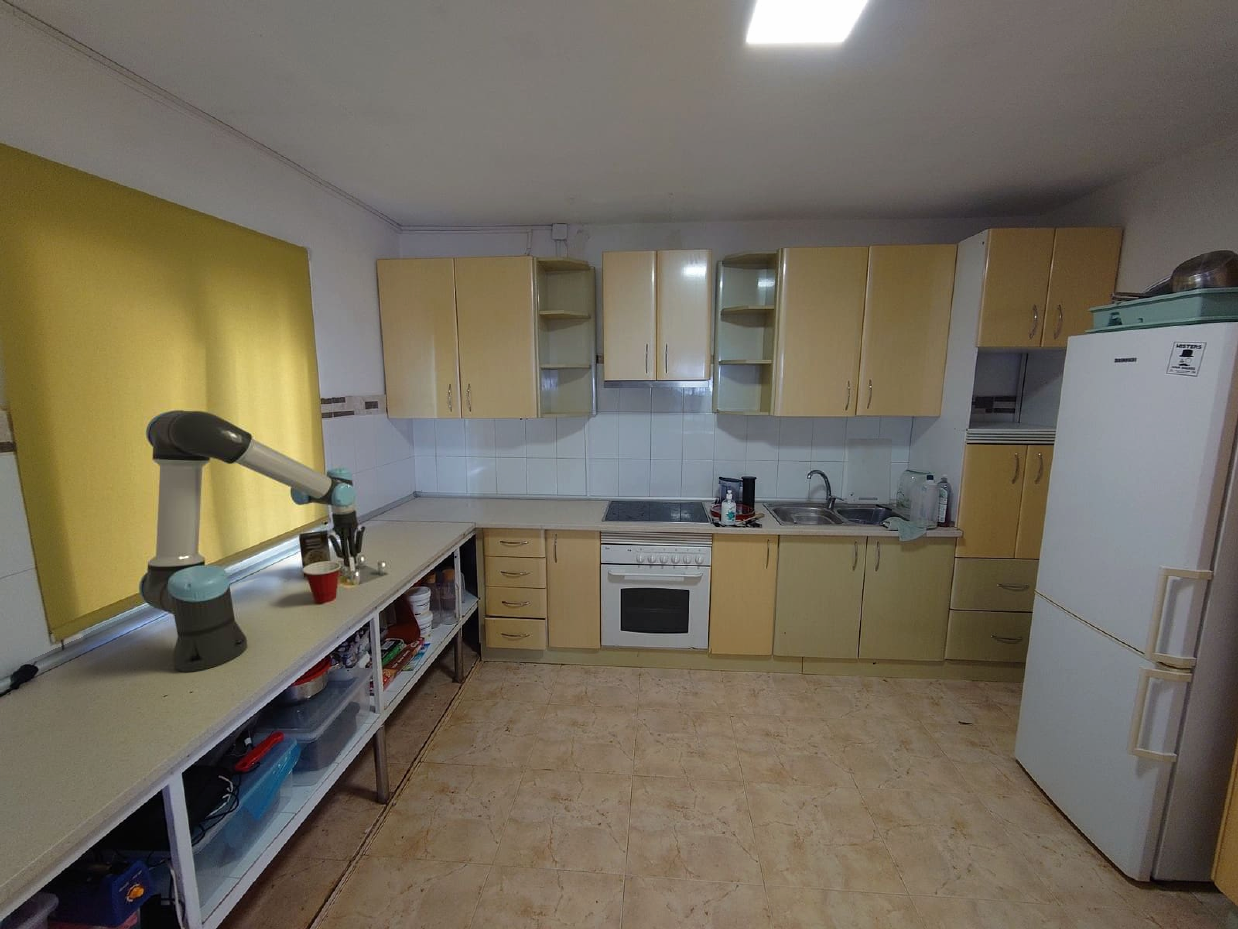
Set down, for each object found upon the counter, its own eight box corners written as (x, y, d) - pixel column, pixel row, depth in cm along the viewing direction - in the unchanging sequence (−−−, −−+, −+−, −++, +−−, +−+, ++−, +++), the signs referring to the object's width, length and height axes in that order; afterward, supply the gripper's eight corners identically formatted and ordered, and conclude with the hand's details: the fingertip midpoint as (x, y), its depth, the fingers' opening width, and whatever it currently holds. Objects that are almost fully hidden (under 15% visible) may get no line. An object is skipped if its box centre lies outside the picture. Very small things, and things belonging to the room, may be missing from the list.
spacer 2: (355, 587, 171) (353, 573, 171) (350, 585, 173) (349, 572, 172) (362, 584, 174) (361, 571, 173) (358, 582, 175) (357, 569, 174)
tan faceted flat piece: (336, 585, 172) (335, 578, 172) (330, 582, 175) (329, 576, 174) (350, 580, 176) (349, 574, 176) (344, 578, 179) (343, 571, 178)
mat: (347, 590, 169) (347, 588, 169) (324, 579, 179) (323, 578, 179) (388, 575, 181) (388, 574, 181) (364, 566, 191) (364, 565, 191)
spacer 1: (339, 577, 181) (337, 564, 180) (335, 575, 182) (334, 562, 181) (347, 574, 183) (345, 562, 182) (343, 573, 184) (341, 560, 184)
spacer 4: (381, 577, 180) (380, 564, 179) (377, 575, 181) (376, 562, 180) (388, 574, 182) (387, 561, 181) (384, 573, 184) (383, 560, 183)
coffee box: (303, 580, 178) (297, 538, 176) (304, 574, 184) (298, 533, 181) (332, 575, 183) (327, 533, 180) (332, 569, 188) (327, 529, 186)
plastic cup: (335, 607, 157) (331, 571, 154) (300, 609, 156) (295, 573, 154) (351, 592, 167) (347, 559, 165) (318, 594, 166) (313, 560, 164)
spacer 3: (360, 570, 186) (359, 558, 185) (356, 569, 188) (355, 556, 187) (367, 568, 189) (366, 556, 188) (363, 567, 190) (362, 554, 189)
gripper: (329, 517, 167) (338, 582, 171) (367, 508, 178) (374, 570, 182) (319, 514, 171) (327, 577, 175) (356, 506, 182) (363, 566, 186)
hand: (351, 573), depth 179 cm, fingers closed
